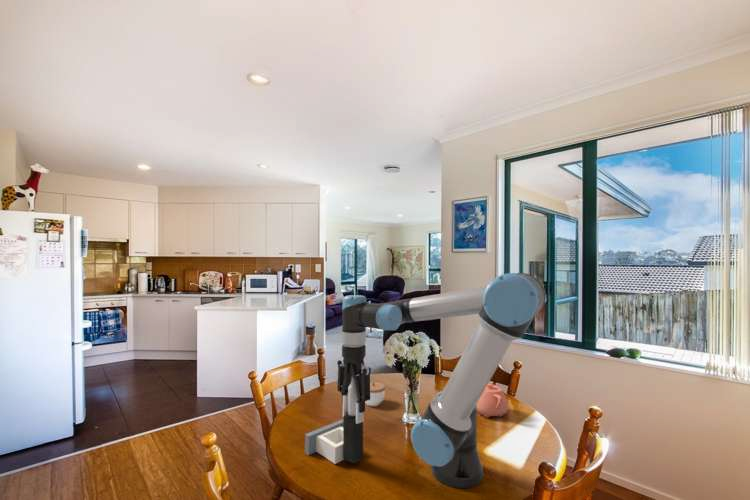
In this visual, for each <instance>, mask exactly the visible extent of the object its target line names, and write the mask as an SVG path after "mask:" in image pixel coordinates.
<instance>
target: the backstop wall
mask: <svg viewBox="0 0 750 500" xmlns="http://www.w3.org/2000/svg"><path fill="white" fill-rule="evenodd" d="M339 426H341V427H343V418H342V419H339V420H337V421H334V422H333V423H330V424H327V425H325V426H322V427H320V428H318V429H314V430H312V431H310V432H308V433H307V432H306V433H305V436H304V454H306V455H308V456H310V455H312V454H314V453H318V452H317V451H316V436H317V435H319V434H322V433H324V432H327V431H329V430H331V429H334V428H336V427H339Z"/></svg>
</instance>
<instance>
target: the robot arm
mask: <svg viewBox="0 0 750 500" xmlns="http://www.w3.org/2000/svg"><path fill="white" fill-rule="evenodd" d="M546 299H547V294H546V289H545V287H544V285H543V284H542V282H541V281H540V280H539V279H538V278H537V277H535V276H534V275H532V274H529V273H524V272H517V273H515V272H507V273H504V274H501V275H499V276H497V277H495V278H493V279H492V280H491V281H490V282H489V283H488V284H487V285H485V286H478V287H474V288H468V289H467V288H465V289H460V290H455V291H449V292H444V293H442V292H441V293H439V294H431V295H424V296H419V297H413V298H407V299H406V298H405V299H400V300H395V301H389V302H383V303H372V302H371V303H370V302H368V301H367V298H366V296H365V295H361V294H356V295H355V294H349V295H345V296H344V297H343V299H342V308H341V312H342V313H341V314H342V318H341V319H342V328H341V329H342V330H341V343H342V345H341V357H342V358H343V359H339V360H337V363H336V364H337V388H336V389H337V392H340V395H341V404H342V417H343V416H345V415H346V413H348V387H349V385H350V384H351V380H352V376H353V379H354V381H355V386H356V392H357V398H358V401H356V424H358V423H361V422H363V423H364V421H365V411H366V403H365V401H368V400H370V382H371V372H372V367H370V366H368V367H367V366H366V365H365V361H364V360H365V357H366V347H367V346H366V342H367V341H366V336H367V335H366V334H367V333H366V329H367V328H369V329H375V330H377V329H378V330H382V331H396V330H398V329H399V327H400V326H401V325H402V324H405V323H406V324H407V323H413V322H414V323H415V322H420V321H421V322H422V321H432V320H438V319H439V320H440V319H447V318H455V317H461V316H462V317H463V316H471V315H472V316H473V315H477V317H478V321H479V323H478V325H477V327H476V329H475V330H474V332H473V334H472V335H471V338H470V339H469V342H467V345H466V347H465V349H464V351H463V352H462V355H461V356H460V358H459V360H458V362H457V364H456V366H455V368H454V369H453V371H452V373H451V375H450V377H449V378H448V381H447V382H446V384H445V387H444V388H443V390H441V391H438V392H437V394H436V396H434V397H432V398H431V400H430V402H429V404H428V405H427V407H426V409H425V411H424V413H423V415H422V416H421V418H420V419H418V420H417V421H415V423H414V424H413V426H412V428H411V430H410V431H411V432H410V442H411V443H412V447H413V449H414V451H415V453H416V454H417V456H418V457H419V459H421V460H422V461H423V462H424V463H426V464H428V465H430V472H431V474H432V475H433V477H434V478H435V479H436V480H438V481H439V482H441V483H442V484H445V485H447V486H450V487H453V488H460V489H461V488H462V489H466V488H467V489H468V488H473V487H475V486H478V485H479V484H480V483H482V481H483V478H484V469H483V464H482V461H481V457H480V454H479V451H478V448H477V444H478V442H477V438H478V436H477V434H478V431H477V430H478V429H477V428H478V425H477V421H478V418H477V417H478V415H477V414H478V412H477V402H478V400H479V399H480V397H481V395H482V393H483V392H484V390H485V388H486V386H487V385H488V383H490V381H491V379H492V378H493V376H494V374H495V372H496V370H497V368H498V367H499V365H500V363H501V361H502V360H503V358H504V356H505V354H506V353H507V351H508V350H509V347H510V345H511V344H512V342H513V341H516V340H521V339H523V338H524V335H525V333H526V331H528V329H529V327H530V325H531V324H532V321H533V320H534V319H535V318H534V317H536V315H537V314H538V313H539V312H540V311H541V310H542V309H543V307H544V306H545V304H546Z"/></svg>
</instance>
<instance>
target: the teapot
mask: <svg viewBox="0 0 750 500" xmlns="http://www.w3.org/2000/svg"><path fill="white" fill-rule="evenodd" d="M508 403H509V402H508V400H507V396H506V394H505V392H504V390H503V389H502V388H501V387H499V386H498V385H496V384H493V383H491V382H489V383H488V385H487V386H486V388H485V390H484V392H483V393H482V395H481V397H480V399H479V400H478V402H477V413H479V414H480V415H482V416H483V418H485V419H490V418H491V417H498V416H504V415H506V414H507V412H508V410H509V405H508ZM489 417H490V418H489Z"/></svg>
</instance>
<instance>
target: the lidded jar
mask: <svg viewBox="0 0 750 500" xmlns="http://www.w3.org/2000/svg"><path fill="white" fill-rule="evenodd" d="M385 393H386V384H384V383H382V382H379V381H370V400H368V401H365V405H367V406H369V407H377V406H379V405H381V404H382V402H383V401H384V398H385Z"/></svg>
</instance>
